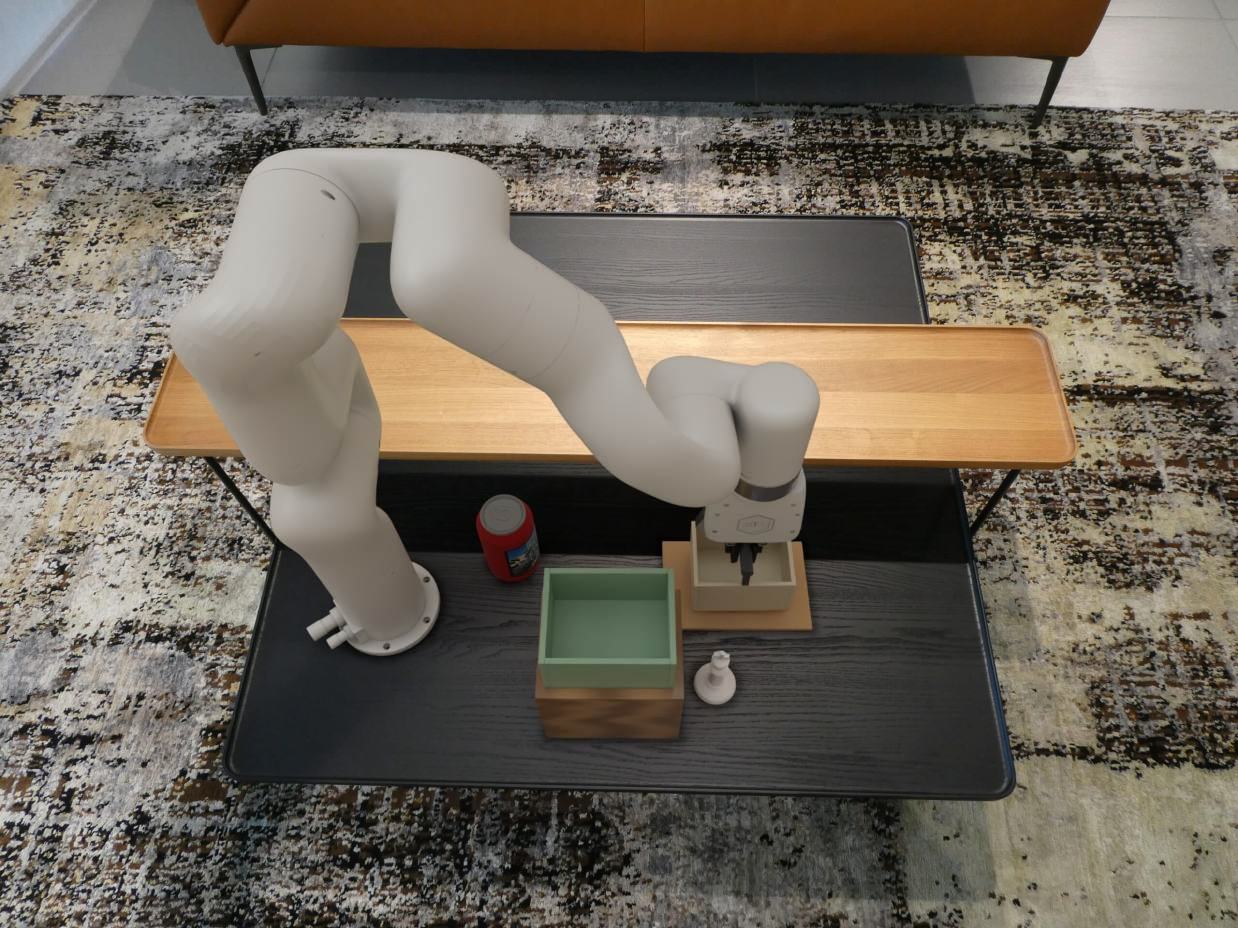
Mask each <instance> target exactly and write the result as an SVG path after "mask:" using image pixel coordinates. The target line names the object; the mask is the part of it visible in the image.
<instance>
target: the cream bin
mask: <svg viewBox="0 0 1238 928" xmlns="http://www.w3.org/2000/svg"><path fill="white" fill-rule="evenodd" d="M690 525H691V526H690V539H689V540H690V561H691V585H692V610H693V611H771V610H789V607H790V604H791V601H792V597H793V594H794V591H795V588H796V579H795V570H794V562H793V553H792V545H791V542H792V540H791V541H787V542H773V543H768V545H766V546H763V549H762V553H757V557H756V560H755V563H753V559H752V549H751V543H740V551H739V557H738V561H737V562H736V563H731V557H730V553H725V542H716V541H713V540H710V539H708V538H707V537H706V534H705V531H700V530H697V529H696V528H695V520H691V524H690Z"/></svg>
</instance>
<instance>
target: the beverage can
mask: <svg viewBox="0 0 1238 928" xmlns="http://www.w3.org/2000/svg"><path fill="white" fill-rule="evenodd" d="M475 526H476V530H477V534H478V538H479V541H480V543H481V547H482V550H483V554H484V556H485V560H486V562H487V565H488V568H489V570H490V572H491V573H492V574H493V575H494V576H495V577H497V578H498V579H499V580H502V581H506V582H519V581H522V580H525V579H526V578H528V577H530V576H531V575H532V574H533V573H535V571H536V570H537V568H538V566H539V564H540V560H541V553H540V547H539V541H538V536H537V532H536V531H537V530H536V526H535V520H534V516H533V513H532V511H531V508H530V507H529V505H528V504H527V503H526V502H524V501H523V500H522V499H519V498H518V497H516V496H514V495H511V494H497V495H494V496H492V497H491V498H489V499H488V500H487V501H485V502H484V503H483V505H482V507H481V509H480V510H479V512H478V513H477V516H476V522H475Z"/></svg>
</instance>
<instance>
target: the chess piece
mask: <svg viewBox="0 0 1238 928" xmlns="http://www.w3.org/2000/svg"><path fill="white" fill-rule="evenodd" d="M730 657H731V655H730V653H727V652H725V650H717V651H713V654H712V655H711V661H710V662H707V663H705V664H704V665H702V666H701V667H699V668H698V669H697V672H696V673H695V675H694V678H693V687H694V691H695V693H696V695H697V696H698V697H699V698H700V699H701V700H702V701H703V702H705V703H707V704H710V705H723V704H726V703H727V702H728V701H730V700H731V698H733V696H734V695H735V693H736V688H737V683H736V677H735V675H734V673H733V671H732V670H731V669H730V668H729V665H730V661H731V658H730Z"/></svg>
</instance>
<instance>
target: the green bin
mask: <svg viewBox="0 0 1238 928" xmlns="http://www.w3.org/2000/svg"><path fill="white" fill-rule="evenodd" d="M543 569H544V571H543V583H542V584H543V587H542V589H543V599H542V614H541V630H540V645H539V660H538V664H539V668H540V672H541V675H542V679H543V683H544V687H545V688H595V689H674V682H675V674H676V666H677V657H676V623H675V589H674V568H663V567H655V568H654V567H544V568H543Z"/></svg>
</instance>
